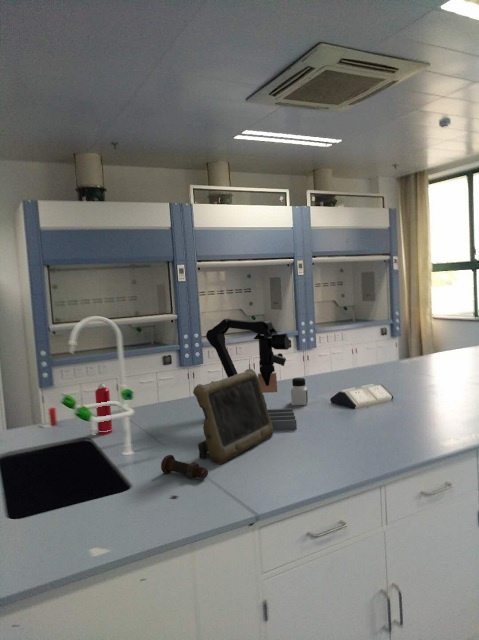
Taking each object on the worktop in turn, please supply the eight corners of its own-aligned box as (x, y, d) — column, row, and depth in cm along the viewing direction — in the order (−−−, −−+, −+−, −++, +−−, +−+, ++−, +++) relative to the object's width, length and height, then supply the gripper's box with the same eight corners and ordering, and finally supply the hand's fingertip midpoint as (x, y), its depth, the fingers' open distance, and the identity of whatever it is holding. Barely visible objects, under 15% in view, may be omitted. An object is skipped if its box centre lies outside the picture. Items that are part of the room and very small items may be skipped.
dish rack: (260, 430, 173) (259, 421, 172) (259, 418, 189) (259, 409, 189) (296, 429, 172) (296, 420, 172) (293, 416, 189) (292, 408, 189)
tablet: (228, 467, 139) (224, 388, 137) (193, 460, 146) (188, 385, 145) (275, 435, 167) (272, 369, 165) (244, 430, 174) (240, 367, 172)
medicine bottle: (307, 405, 206) (305, 379, 205) (291, 405, 207) (290, 379, 207) (307, 401, 213) (306, 376, 212) (292, 401, 214) (291, 376, 214)
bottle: (108, 429, 185) (104, 381, 184) (114, 431, 181) (111, 383, 180) (95, 432, 181) (92, 384, 180) (102, 435, 178) (98, 385, 176)
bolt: (204, 487, 130) (165, 476, 138) (212, 473, 134) (174, 463, 141) (198, 474, 127) (158, 464, 135) (206, 460, 131) (167, 451, 139)
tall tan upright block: (258, 392, 194) (257, 374, 193) (258, 391, 197) (257, 373, 196) (277, 392, 193) (276, 373, 193) (276, 390, 196) (276, 372, 196)
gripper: (285, 351, 184) (287, 388, 185) (282, 345, 203) (284, 379, 204) (258, 352, 185) (260, 390, 186) (258, 347, 203) (260, 380, 204)
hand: (267, 384), depth 195 cm, fingers closed on tall tan upright block, 3 cm apart
